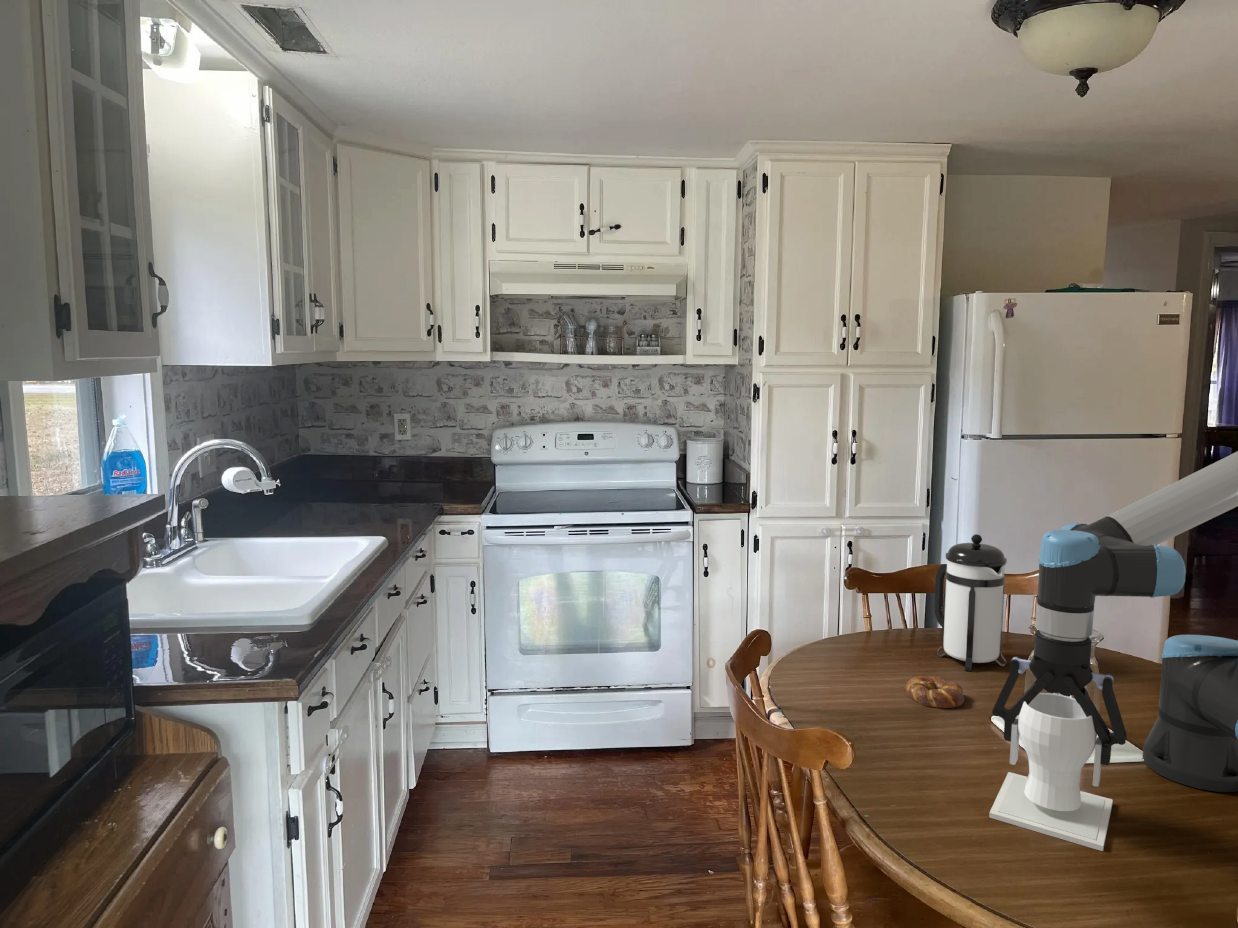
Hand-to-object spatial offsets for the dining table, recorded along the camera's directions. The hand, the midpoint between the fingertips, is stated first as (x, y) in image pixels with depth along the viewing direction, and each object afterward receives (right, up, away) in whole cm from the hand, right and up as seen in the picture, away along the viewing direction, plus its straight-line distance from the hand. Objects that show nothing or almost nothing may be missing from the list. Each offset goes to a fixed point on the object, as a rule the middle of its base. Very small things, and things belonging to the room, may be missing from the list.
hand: (1053, 771), depth 124 cm
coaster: (0, -6, +1) cm, 6 cm away
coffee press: (+14, +2, +64) cm, 66 cm away
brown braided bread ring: (-2, -2, +43) cm, 43 cm away
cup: (0, -5, +1) cm, 5 cm away
